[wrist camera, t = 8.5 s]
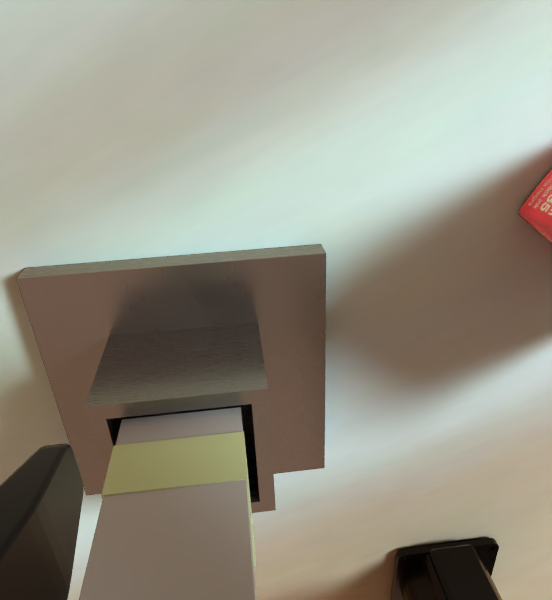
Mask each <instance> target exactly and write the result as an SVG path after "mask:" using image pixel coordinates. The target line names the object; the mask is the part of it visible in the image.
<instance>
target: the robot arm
mask: <svg viewBox="0 0 552 600" xmlns="http://www.w3.org/2000/svg"><path fill="white" fill-rule="evenodd" d="M82 498H83V481H82V477H81V474H80V471H79V468H78V465H77V462H76V458H75V455H74V452H73V450H72V448H71V446H70V445H68V444H56V445H47V446H43V447H41V448H40V449H38V450H37V451H36V452H35V453H34V454H33V455H32V456H31V457H30V458H29V459H28V460H27V461H26V462H24V463H23V464H22V465H21V466H20V467H19V468H18V469H17V470H16V471H15V472H14V473H13V474H12V475H11V476H10V477H9V478H8V479H7V480H6V481H4V482H3V483H2V484H1V485H0V600H67V598H68V593H69V588H70V582H71V576H72V569H73V562H74V555H75V548H76V540H77V533H78V526H79V519H80V512H81V505H82ZM498 549H499V546H498V544H497V542H496V540H495V539H493V538H486V539H479V540H471V541H463V542H456V543H448V544H440V545H432V546H425V547H417V548H409V549H403V550H400V551H398V552H397V554H396V559H395V567H394V576H393V584H392V593H391V600H502V598H501V596H500V594H499V592H498V590H497V588H496V586H495V585H494V583H493V581H492V579H491V575H492V571H493V567H494V563H495V560H496V556H497V552H498Z"/></svg>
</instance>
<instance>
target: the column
mask: <svg viewBox="0 0 552 600" xmlns="http://www.w3.org/2000/svg"><path fill="white" fill-rule="evenodd" d="M102 498H103V501H102V505H101V509H100V513H99V517H98V522H97V526H96V530H95V534H94V538H93V542H92V547H91V551H90V555H89V559H88V563H87V568H86V572H85V576H84V580H83V584H82V589H81V593H80V597H79V600H257V593H256V580H255V567H256V560H255V547H254V534H253V522H252V510H251V500H250V490H249V479H248V469H247V458H246V448H245V438H244V432H243V425H242V415H241V407H238V408H229V409H219V410H210V411H200V412H190V413H181V414H171V415H162V416H152V417H143V418H133V419H123V420H122V421H121V425H120V429H119V434H118V438H117V442H116V445H115V446H113V450H112V454H111V458H110V462H109V466H108V471H107V475H106V479H105V483H104V487H103V491H102Z"/></svg>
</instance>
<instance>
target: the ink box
mask: <svg viewBox="0 0 552 600" xmlns="http://www.w3.org/2000/svg"><path fill="white" fill-rule="evenodd" d="M519 214H520V215H521V216H522V217H523V218H524V219H525V220H526V221H527V222H529V223H530V224H531V225H532V226H533V227H534V228H535V229H536V230H537V231H539V232H540V233H541V234H542V235H543V236H544V237H546V238H547V239H548V240H549V241H550V242H551V243H552V170H551V171H550V172H549V173H548V174H547V175H546V176H545V178H544V179H543V180H542V181H541V182H540V184H539V185H538V186H537V187H536V188H535V190H534V191H533V192H532V194H531V195H530V196H529V197H528V199H527V200H526V202H525V203H524V204H523V206H522V207H521V209H520V211H519Z"/></svg>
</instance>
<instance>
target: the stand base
mask: <svg viewBox="0 0 552 600" xmlns="http://www.w3.org/2000/svg"><path fill="white" fill-rule="evenodd" d="M17 282H18V285H19V288H20V291H21V294H22V298H23V301H24V304H25V307H26V310H27V313H28V316H29V319H30V322H31V325H32V328H33V331H34V335H35V338H36V341H37V344H38V347H39V350H40V353H41V356H42V359H43V362H44V365H45V368H46V372H47V375H48V378H49V381H50V384H51V387H52V390H53V393H54V396H55V399H56V402H57V405H58V409H59V412H60V415H61V418H62V421H63V424H64V427H65V430H66V433H67V436H68V439H69V443H70V446H71V448H72V450H73V452H74V455H75V458H76V462H77V465H78V468H79V471H80V474H81V477H82V481H83V486H84V489H85V492H86V495H93V494H102V491H103V487H104V483H105V479H106V475H107V471H108V466H109V462H110V458H111V454H112V450H113V446H115V445H116V442H117V438H118V434H119V429H120V425H121V421H122V420H123V419H133V418H143V417H152V416H162V415H171V414H181V413H190V412H200V411H210V410H219V409H229V408H238V407H241V415H242V425H243V432H244V438H245V448H246V458H247V469H248V479H249V490H250V500H251V510H252V513H255V512H264V511H272V510H276V509H275V493H274V477H273V474H276V473H284V472H293V471H302V470H310V469H319V468H324V446H325V306H326V253H325V251H324V249H323V247H322V245H321V244H315V245H303V246H291V247H278V248H266V249H253V250H241V251H229V252H216V253H204V254H191V255H179V256H167V257H154V258H142V259H129V260H117V261H105V262H92V263H80V264H67V265H55V266H42V267H30V268H25V269H24V270H23V271H22V272H21V274H20V275H19V276H18V277H17Z"/></svg>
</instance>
